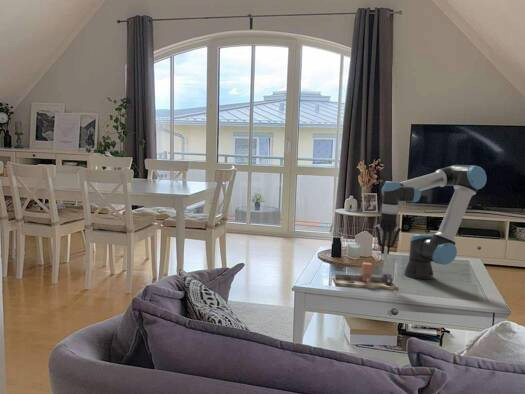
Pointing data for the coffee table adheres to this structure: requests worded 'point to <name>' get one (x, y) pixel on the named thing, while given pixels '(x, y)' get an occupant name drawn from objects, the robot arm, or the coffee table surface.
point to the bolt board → (365, 284)
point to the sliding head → (366, 271)
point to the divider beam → (384, 277)
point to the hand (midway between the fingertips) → (384, 260)
